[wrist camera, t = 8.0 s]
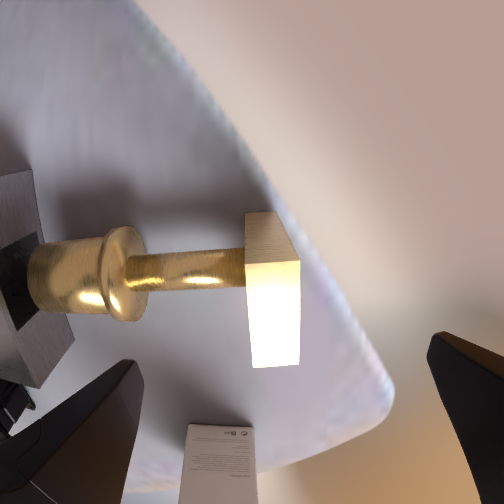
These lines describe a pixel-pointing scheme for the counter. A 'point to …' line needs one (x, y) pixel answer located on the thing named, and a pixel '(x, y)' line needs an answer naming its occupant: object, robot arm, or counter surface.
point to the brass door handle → (177, 280)
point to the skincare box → (219, 466)
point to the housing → (24, 291)
